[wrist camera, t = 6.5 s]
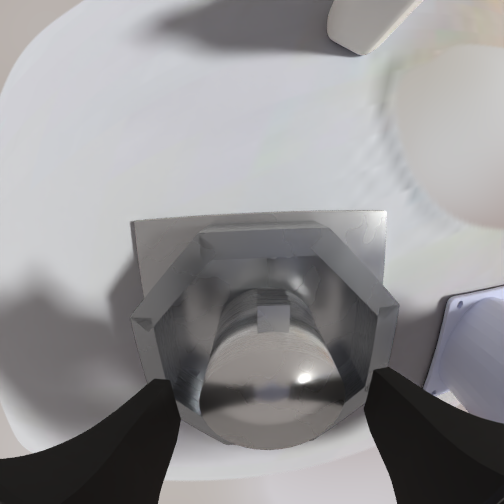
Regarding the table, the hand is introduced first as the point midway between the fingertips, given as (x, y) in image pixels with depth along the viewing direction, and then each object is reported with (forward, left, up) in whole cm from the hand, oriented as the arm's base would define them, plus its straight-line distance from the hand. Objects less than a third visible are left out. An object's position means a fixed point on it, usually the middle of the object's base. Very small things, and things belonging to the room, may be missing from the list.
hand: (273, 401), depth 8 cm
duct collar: (0, 0, -5) cm, 5 cm away
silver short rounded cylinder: (0, 0, -5) cm, 5 cm away
